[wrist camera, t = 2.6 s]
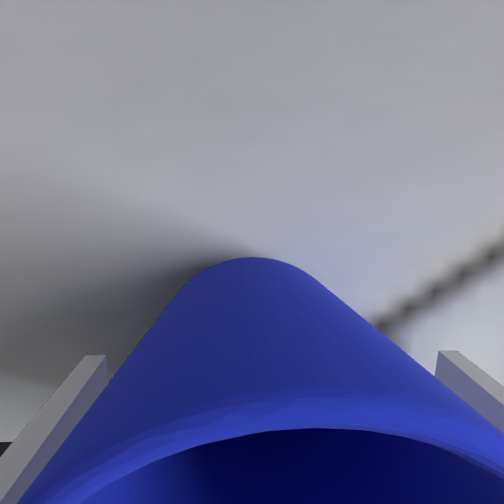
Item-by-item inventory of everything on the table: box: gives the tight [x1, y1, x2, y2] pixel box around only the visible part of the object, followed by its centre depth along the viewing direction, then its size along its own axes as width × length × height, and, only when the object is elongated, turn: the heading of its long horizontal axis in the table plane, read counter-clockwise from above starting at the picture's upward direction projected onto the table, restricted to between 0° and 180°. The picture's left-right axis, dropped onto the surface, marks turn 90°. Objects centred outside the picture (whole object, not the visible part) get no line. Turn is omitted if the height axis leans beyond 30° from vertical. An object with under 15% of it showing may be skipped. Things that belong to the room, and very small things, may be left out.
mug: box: [17, 257, 504, 504], centre depth 9 cm, size 8×12×10 cm
